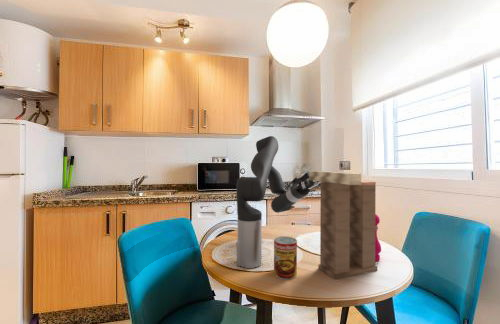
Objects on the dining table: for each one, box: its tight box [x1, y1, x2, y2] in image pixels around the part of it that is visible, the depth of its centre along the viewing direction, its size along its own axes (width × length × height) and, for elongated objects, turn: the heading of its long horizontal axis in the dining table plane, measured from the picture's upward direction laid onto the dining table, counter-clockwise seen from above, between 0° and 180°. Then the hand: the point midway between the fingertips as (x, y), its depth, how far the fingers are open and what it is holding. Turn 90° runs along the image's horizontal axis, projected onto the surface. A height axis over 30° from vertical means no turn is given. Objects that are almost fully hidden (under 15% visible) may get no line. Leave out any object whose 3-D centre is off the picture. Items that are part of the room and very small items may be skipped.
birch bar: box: [306, 170, 362, 185], centre depth 89 cm, size 24×4×4 cm, turn 22°
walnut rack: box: [317, 180, 378, 280], centre depth 90 cm, size 9×19×32 cm, turn 112°
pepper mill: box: [375, 213, 382, 262], centre depth 100 cm, size 7×7×20 cm
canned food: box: [273, 235, 298, 280], centre depth 86 cm, size 8×8×12 cm
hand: (317, 174), depth 97 cm, fingers open, 8 cm apart
